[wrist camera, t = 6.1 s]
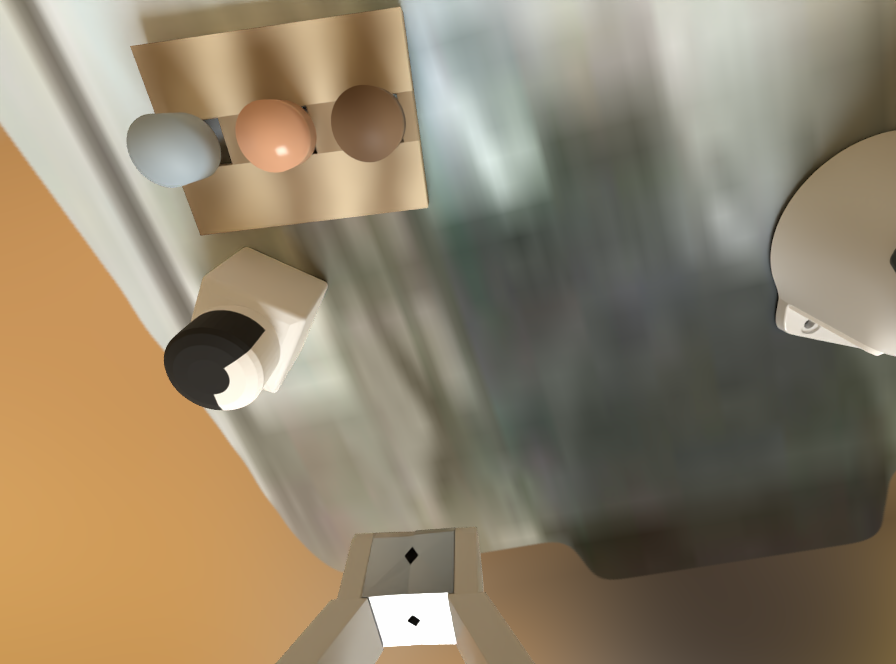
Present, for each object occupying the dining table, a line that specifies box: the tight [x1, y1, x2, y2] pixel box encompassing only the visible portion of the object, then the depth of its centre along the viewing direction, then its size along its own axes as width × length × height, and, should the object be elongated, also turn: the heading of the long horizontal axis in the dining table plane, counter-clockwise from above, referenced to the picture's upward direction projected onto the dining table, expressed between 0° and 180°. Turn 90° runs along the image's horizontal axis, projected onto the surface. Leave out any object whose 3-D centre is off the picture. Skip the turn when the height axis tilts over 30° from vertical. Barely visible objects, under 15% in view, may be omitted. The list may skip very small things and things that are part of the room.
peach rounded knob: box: [235, 99, 317, 173], centre depth 29 cm, size 4×4×5 cm
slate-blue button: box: [127, 112, 221, 188], centre depth 29 cm, size 4×4×5 cm
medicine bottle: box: [164, 247, 328, 410], centre depth 33 cm, size 7×7×12 cm
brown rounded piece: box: [331, 85, 406, 162], centre depth 28 cm, size 4×4×5 cm
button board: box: [130, 7, 429, 235], centre depth 31 cm, size 17×12×2 cm
